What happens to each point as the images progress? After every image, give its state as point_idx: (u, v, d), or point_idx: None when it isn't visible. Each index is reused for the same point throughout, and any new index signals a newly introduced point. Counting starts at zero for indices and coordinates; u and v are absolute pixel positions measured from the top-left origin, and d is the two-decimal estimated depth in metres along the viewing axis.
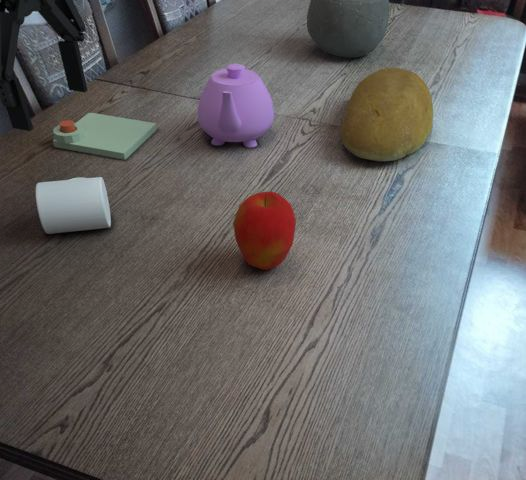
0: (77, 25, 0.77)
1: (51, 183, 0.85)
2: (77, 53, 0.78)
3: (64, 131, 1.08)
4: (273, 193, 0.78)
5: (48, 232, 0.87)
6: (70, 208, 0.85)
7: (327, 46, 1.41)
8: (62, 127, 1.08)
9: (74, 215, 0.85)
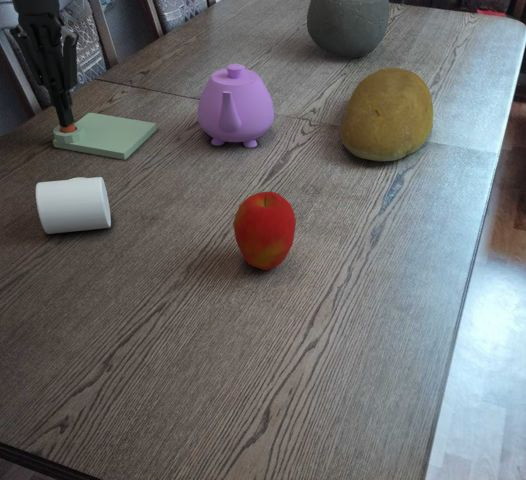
0: None
1: (51, 183, 0.85)
2: None
3: None
4: (273, 193, 0.78)
5: (48, 232, 0.87)
6: (70, 208, 0.85)
7: (327, 46, 1.41)
8: (62, 129, 1.08)
9: (75, 215, 0.85)
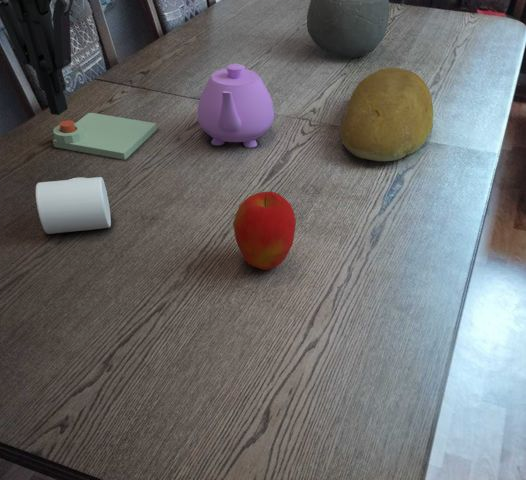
0: None
1: (51, 183, 0.85)
2: None
3: (64, 131, 1.08)
4: (273, 193, 0.78)
5: (48, 232, 0.87)
6: (70, 208, 0.85)
7: (327, 46, 1.41)
8: (62, 127, 1.08)
9: (75, 215, 0.85)
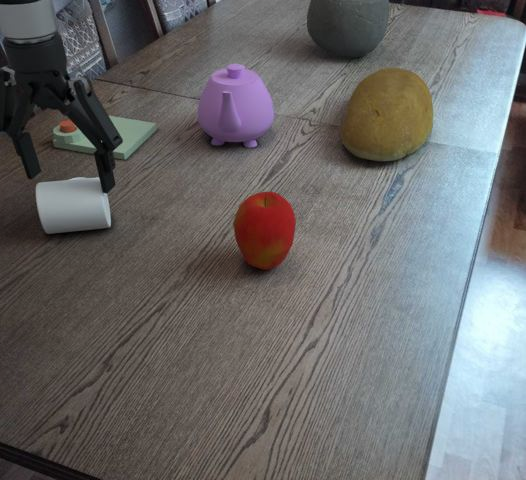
0: (12, 120, 0.84)
1: (51, 183, 0.85)
2: None
3: (64, 131, 1.08)
4: (273, 193, 0.78)
5: (48, 232, 0.87)
6: (70, 208, 0.85)
7: (327, 46, 1.41)
8: (62, 127, 1.08)
9: (75, 215, 0.85)
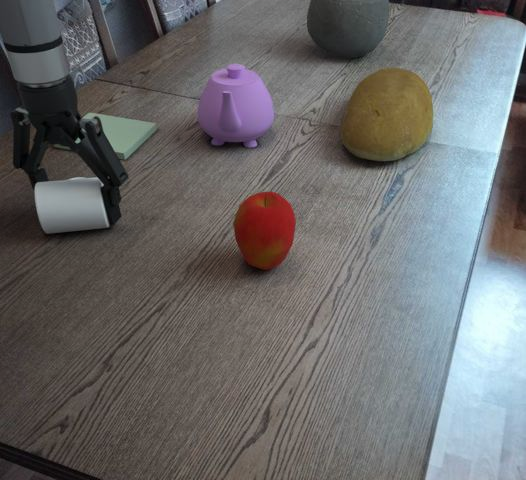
0: (28, 157, 0.88)
1: (50, 183, 0.85)
2: None
3: None
4: (273, 193, 0.78)
5: (47, 232, 0.87)
6: (69, 208, 0.85)
7: (327, 46, 1.41)
8: None
9: (73, 215, 0.85)
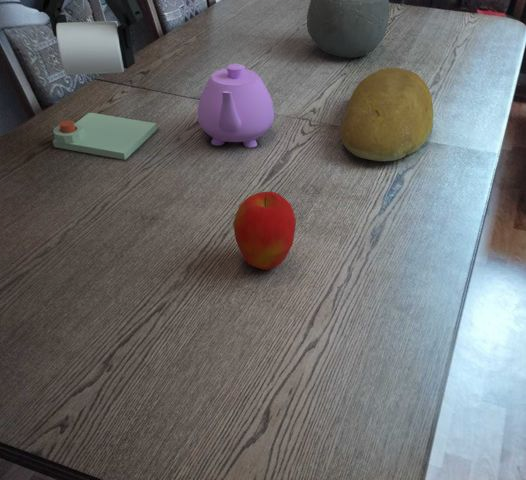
0: (50, 2, 0.95)
1: (70, 22, 0.93)
2: None
3: (64, 131, 1.08)
4: (273, 193, 0.78)
5: (67, 71, 0.95)
6: (88, 45, 0.92)
7: (327, 46, 1.41)
8: (62, 127, 1.08)
9: (91, 52, 0.93)
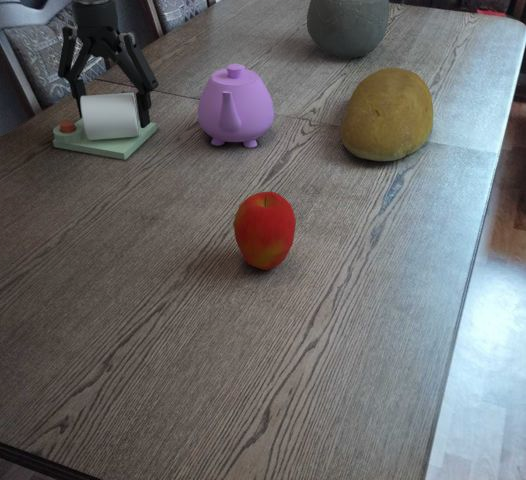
0: (70, 69, 1.07)
1: (93, 96, 1.05)
2: None
3: (64, 131, 1.08)
4: (273, 193, 0.78)
5: (89, 137, 1.07)
6: (108, 115, 1.04)
7: (327, 46, 1.41)
8: (62, 127, 1.08)
9: (111, 122, 1.05)
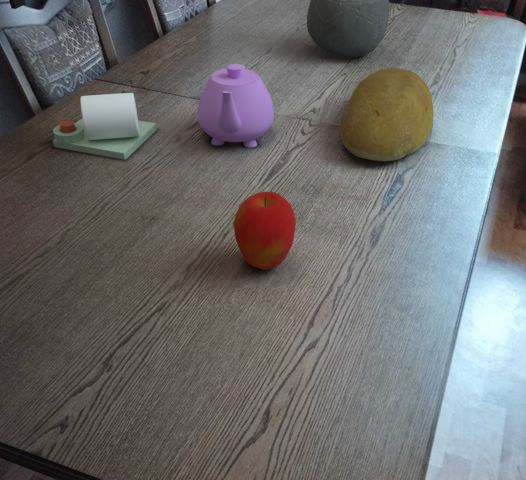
0: None
1: (93, 96, 1.05)
2: None
3: (64, 131, 1.08)
4: (273, 193, 0.78)
5: (89, 137, 1.07)
6: (108, 115, 1.04)
7: (327, 46, 1.41)
8: (62, 127, 1.08)
9: (111, 122, 1.05)
